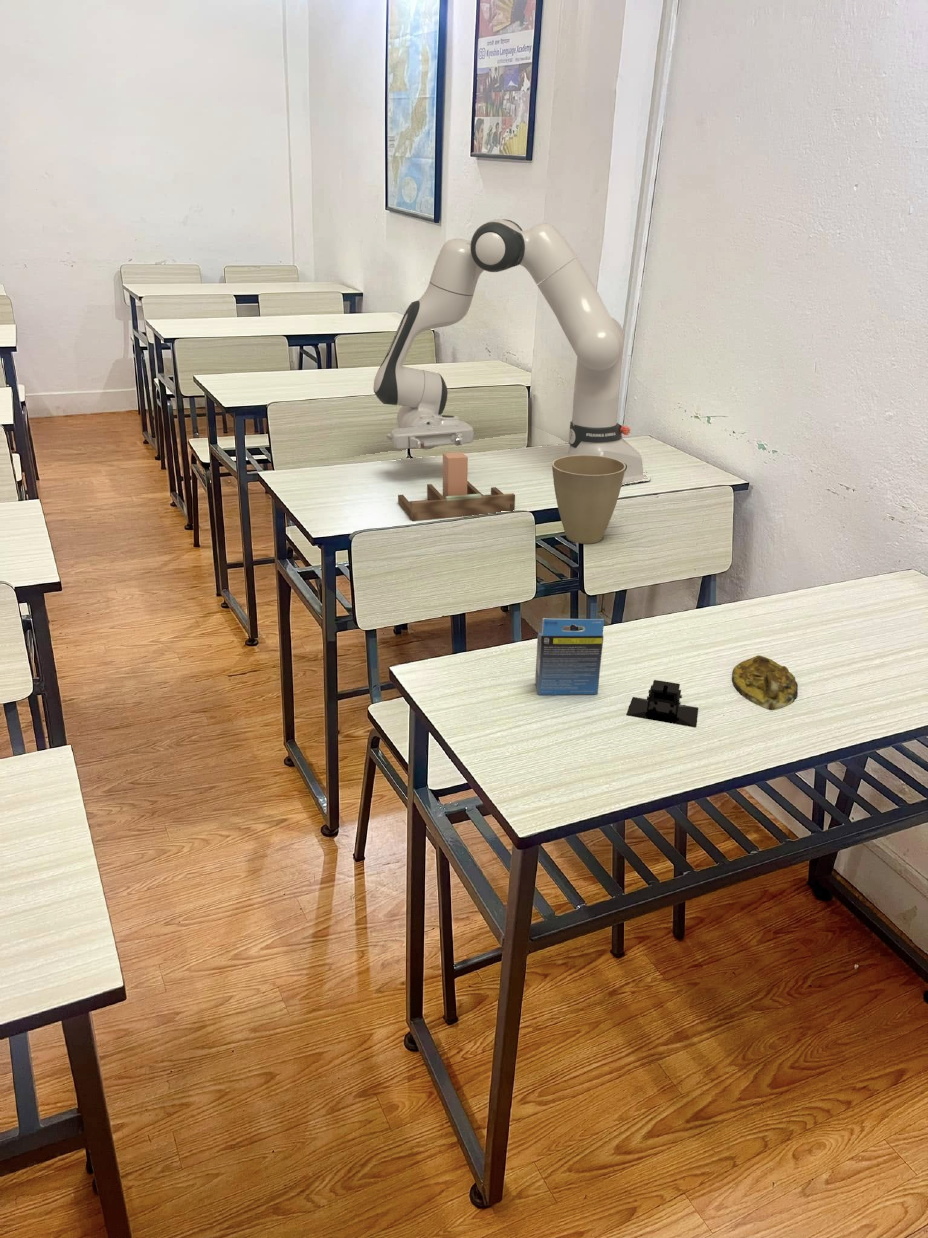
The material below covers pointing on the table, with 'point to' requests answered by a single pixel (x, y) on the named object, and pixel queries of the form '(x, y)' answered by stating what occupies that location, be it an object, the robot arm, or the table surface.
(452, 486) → the terracotta block
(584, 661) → the label tape box
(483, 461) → the table surface
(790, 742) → the table surface
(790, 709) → the table surface
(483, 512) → the box
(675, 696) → the black stand
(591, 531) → the plant pot
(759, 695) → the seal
